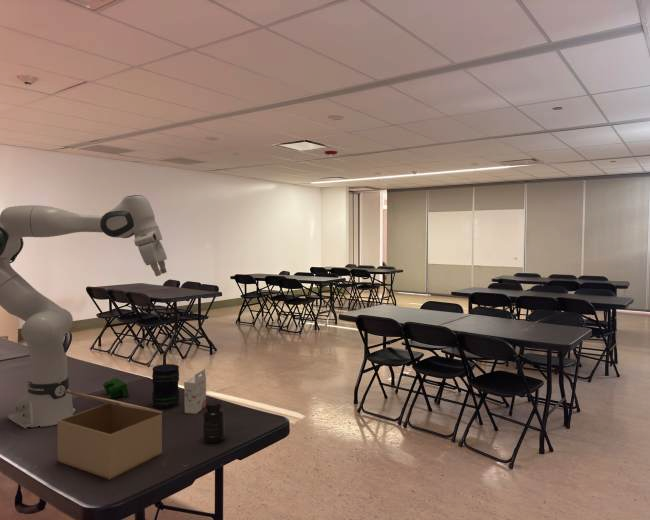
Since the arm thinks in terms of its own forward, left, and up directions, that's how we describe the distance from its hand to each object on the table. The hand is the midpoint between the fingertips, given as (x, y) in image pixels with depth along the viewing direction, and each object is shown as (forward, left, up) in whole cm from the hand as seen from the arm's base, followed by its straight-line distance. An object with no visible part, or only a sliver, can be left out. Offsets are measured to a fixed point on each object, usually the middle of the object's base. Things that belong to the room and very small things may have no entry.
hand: (161, 274), depth 172 cm
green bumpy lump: (-32, +6, -52) cm, 61 cm away
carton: (+14, -33, -51) cm, 63 cm away
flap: (+14, -32, -36) cm, 50 cm away
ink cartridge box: (+8, +9, -52) cm, 53 cm away
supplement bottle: (+32, -9, -52) cm, 61 cm away
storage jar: (-5, +7, -52) cm, 52 cm away
